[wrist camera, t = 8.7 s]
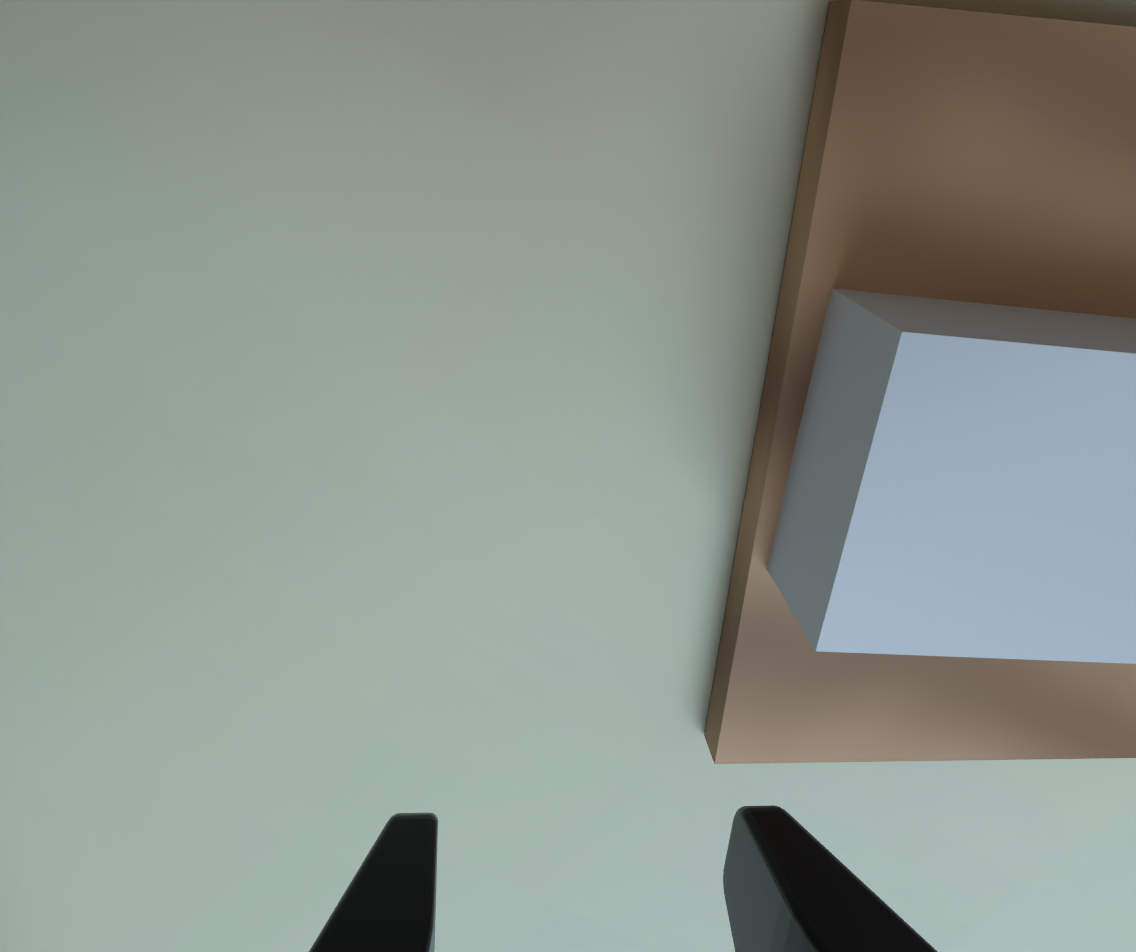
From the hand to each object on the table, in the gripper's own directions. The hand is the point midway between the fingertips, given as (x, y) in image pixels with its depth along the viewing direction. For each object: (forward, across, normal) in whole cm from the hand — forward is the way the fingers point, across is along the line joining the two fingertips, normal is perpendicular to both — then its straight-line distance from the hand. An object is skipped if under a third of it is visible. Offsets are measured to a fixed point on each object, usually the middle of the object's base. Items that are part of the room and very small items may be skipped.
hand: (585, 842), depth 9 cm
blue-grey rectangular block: (+10, -10, 0) cm, 15 cm away
